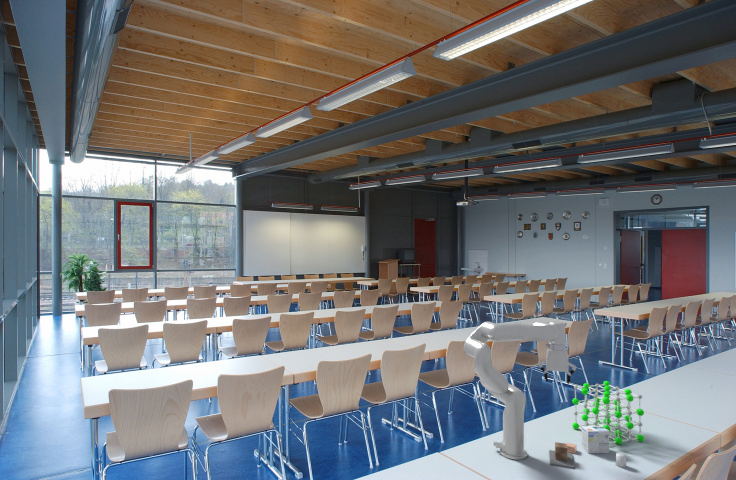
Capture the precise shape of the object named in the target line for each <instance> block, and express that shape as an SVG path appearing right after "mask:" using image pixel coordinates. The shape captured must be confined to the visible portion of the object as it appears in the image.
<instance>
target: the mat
mask: <svg viewBox="0 0 736 480" xmlns="http://www.w3.org/2000/svg"><path fill="white" fill-rule="evenodd" d="M548 455H549V456H548V457H549V465H550V466H554V467H555V466H556V467H561V468H567V469H571V470H572V469H573V470H574V469H575V463H574V457H573V453H570V452H567V461H561V460H556V459H555V450H553V449H552V450H551V449H549V450H548Z"/></svg>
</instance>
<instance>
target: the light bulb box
mask: <svg viewBox="0 0 736 480" xmlns="http://www.w3.org/2000/svg"><path fill="white" fill-rule="evenodd" d="M603 426H604V425H603ZM603 426H595V425H589V426H580V428H581V429H582V430H581V429H580V430H581V449H583V450H584V451H585V452H586V453H587V454H610V443H609V442H610V437H609V435H610V431H609V430H607V429H606V428H604V427H603Z"/></svg>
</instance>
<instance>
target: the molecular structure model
mask: <svg viewBox="0 0 736 480" xmlns="http://www.w3.org/2000/svg"><path fill="white" fill-rule="evenodd" d="M603 386H604V387H603ZM593 387H595V388H593ZM573 388H574V398H572V400H571V401H572V404H573V405H574V409H575V411H573V415H574V419H575V420H574V422H573V423H572V428H573V429H574V430H581V431H582V429H581V426H603V427H604V428H606V429H607V430H609V432H610V431H611V432H613V433H609V439H611V440H613V441H609V444H614V443H615V444H616V445H618V446H619V445H622V444H623V442H628V441H629V442H633V441H635V440H637V441H638V442H641V443H642V442H644V441H645V436H644V435H643V434H642V428H641V427H643V423H642V421H641V416H644V414H645V412H644V410H643V409H642V408H641V399H643V395H641V394H634V393H633V391H632V390H631V389H629V388H625V390H624V389H621V388H620V387H619V386H617V385H616V386H613V385H611V383H610V381H608V380H604V381H603V384H599V383H595V385H593V384H591V385H590V384H589V383H587V382H585V383H583V385H582V386H578V385H574V386H573ZM599 388H601V389H599ZM590 389H591V390H590ZM577 390H579V391H581V394H582V395H583V396H584V399H583V400H579V399H578V398H577ZM613 390H616V391H613ZM620 391H621V392H620ZM611 392H612V393H611ZM593 393H594V394H593ZM599 393H600V395H599ZM588 395H590V396H592V397H593V398H591V399H589V398H588ZM614 396H615V397H614ZM620 396H621V398H620ZM622 397H623V398H622ZM611 398H613V399H611ZM634 399H638V408H637V409H634V408H633V407H631V402H633V401H634ZM621 400H626V401H627V405H625V404H623V403H622V402H621ZM592 401H594V402H592ZM582 402H584V404H583V403H582ZM600 402H601V404H600ZM588 403H590V404H592V405H588ZM577 405H581V406H583V410H582V411H580V412H578V411H577ZM591 407H593V408H591ZM611 407H613V408H611ZM600 408H601V409H600ZM625 409H627V411H626V410H625ZM613 410H614V411H613ZM632 411H633V412H632ZM603 412H604V413H603ZM622 412H624V413H622ZM611 413H612V414H611ZM599 414H600V415H599ZM633 414H636V415H638V420H639V421H638V422H637V421H635V420H633V417H632V415H633ZM578 415H579V416H580V417H581V420H582V421H583V422H584V424H581V425H579V423H578V422H577V419H578V418H577V416H578ZM588 415H591V416H588ZM624 415H625V416H624ZM602 417H604V418H602ZM614 417H615V418H614ZM592 419H594V420H592ZM588 421H590V422H592V423H588ZM623 421H626V423H625V422H623ZM614 422H615V423H614ZM603 424H604V425H603ZM621 424H622V425H621ZM610 425H611V426H613V427H610ZM635 426H639V434H637V435H635V434H633V433H632V432H631V431H632V430H633V429H634V428H635ZM623 428H627V430H624V429H623ZM613 429H615V430H613ZM622 431H623V432H622ZM623 434H625V435H626V434H628V437H626V436H624V435H623ZM612 436H615V438H614V437H612ZM632 436H633V437H634V438H633V437H632ZM621 437H622V438H624V439H623V440H622V438H621Z"/></svg>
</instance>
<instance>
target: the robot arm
mask: <svg viewBox="0 0 736 480" xmlns="http://www.w3.org/2000/svg"><path fill="white" fill-rule="evenodd" d="M488 341H491V342H494V343H502V342H504V343H505V342H515V341H517V342H518V341H521V342H548V343H545V347H547V350H546V355H545V360H543V361H540V362H538V367H539V369H540V370H541V372H543V376H544V377H543V378H544V380H545V382H548V377H549V376H548V373H549V371H551V372H560V373H561V372H563V373H566V383H567V384H568V385H569V384H570V383H571V376H572V375H573V374H574V373H575V371H576V370H577V366H576V365H575V364H572V363H571V362H569V354H568V351H567V349H566V324H565V322H562V321H558V320H555V321H542V320H540V321H535V322H533V323H532V324H528V323H524V322H523V323H522V322H507V323H504V322H503V323H502V322H501V323H495V322H492V321H484V322H482V323H481V324H480V325H478V327H477V328H476V329H475V330H474V331H473V332H472V333H471V334H470V335H469V337H467V338H466V339H465V341H464V343H463V350H464V353H466V354H467V356H470V357H472V358H474V359H473V370H474V372H475V374H476V375H477V376H478V378H479V382H480V384H481V386H482V387H484V389H486V390H487V391H488V393H490V394H491V395H492V396H493V397H494V398H496V399H497V400H498V401H499V402H501V403H503V404H504V405H505V406H504V410H503V413H502V441H500V442H498V441H493V446H495V449H499V453H500V455H501V456H503V457H504V458H507V459H511V460H515V461H516V460H519V461H520V460H524V459H526V458H528V451H527V450H526V449H525V430H524V429H525V408H526V402H527V399H526V395H525V393H524V392H523V390H521V389H520V388H518V387H516V386H515V385H512V384H511V383H509V380H508V379H507V377H506V376H505V375H504V374H503V373H502V372H500V371H499V370H498V369H497V368H496V367H495V366H494V365H493V364H492V363H491V362H492V361H491V358H492V349H491V347H490V346H489V345H488V344H487V342H488ZM543 365H545V368H544V367H543ZM569 367H571V368H572V369H570V368H569ZM569 369H570V370H569Z"/></svg>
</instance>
